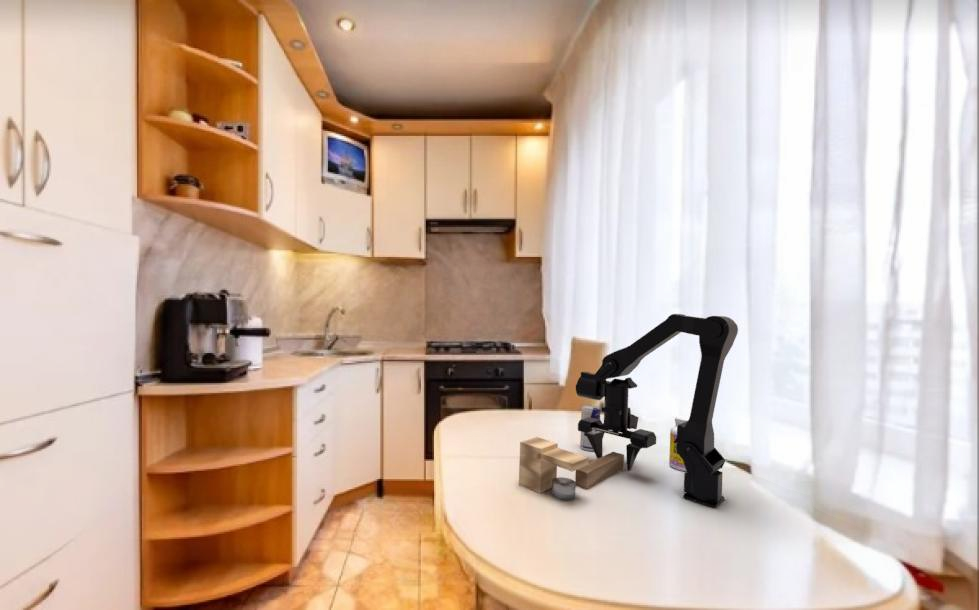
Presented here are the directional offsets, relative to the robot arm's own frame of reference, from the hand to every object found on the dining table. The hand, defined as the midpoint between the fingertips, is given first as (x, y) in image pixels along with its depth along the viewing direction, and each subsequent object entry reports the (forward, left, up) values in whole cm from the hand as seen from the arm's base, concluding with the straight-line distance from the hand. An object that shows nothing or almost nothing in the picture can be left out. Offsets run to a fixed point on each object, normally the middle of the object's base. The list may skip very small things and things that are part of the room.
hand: (614, 465), depth 104 cm
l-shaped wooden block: (+3, +22, -1) cm, 22 cm away
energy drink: (+13, -10, -1) cm, 16 cm away
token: (0, +22, -1) cm, 22 cm away
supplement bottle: (-11, -16, -1) cm, 19 cm away
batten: (0, +6, -1) cm, 7 cm away
